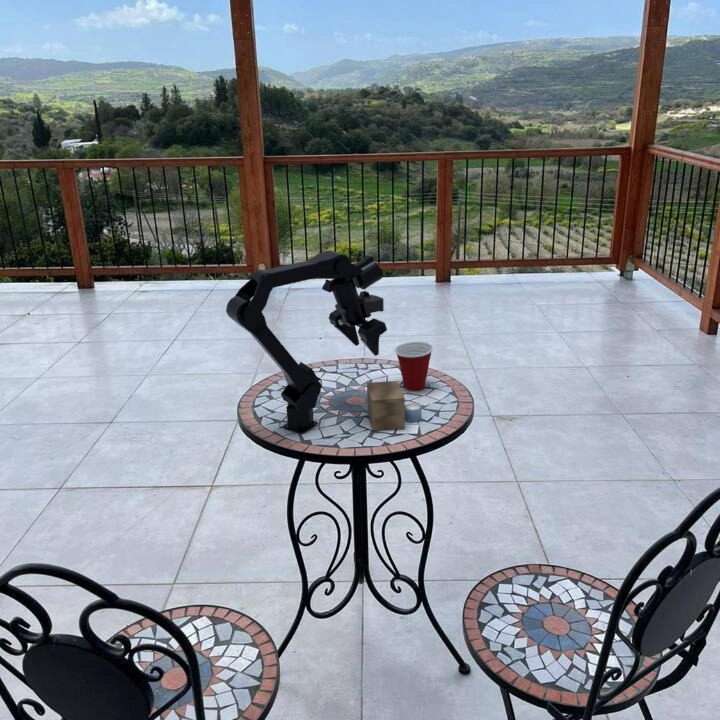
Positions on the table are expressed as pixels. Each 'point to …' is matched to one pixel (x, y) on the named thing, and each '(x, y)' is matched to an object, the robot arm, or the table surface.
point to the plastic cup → (414, 363)
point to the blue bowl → (413, 412)
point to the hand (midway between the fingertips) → (366, 349)
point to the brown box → (385, 405)
